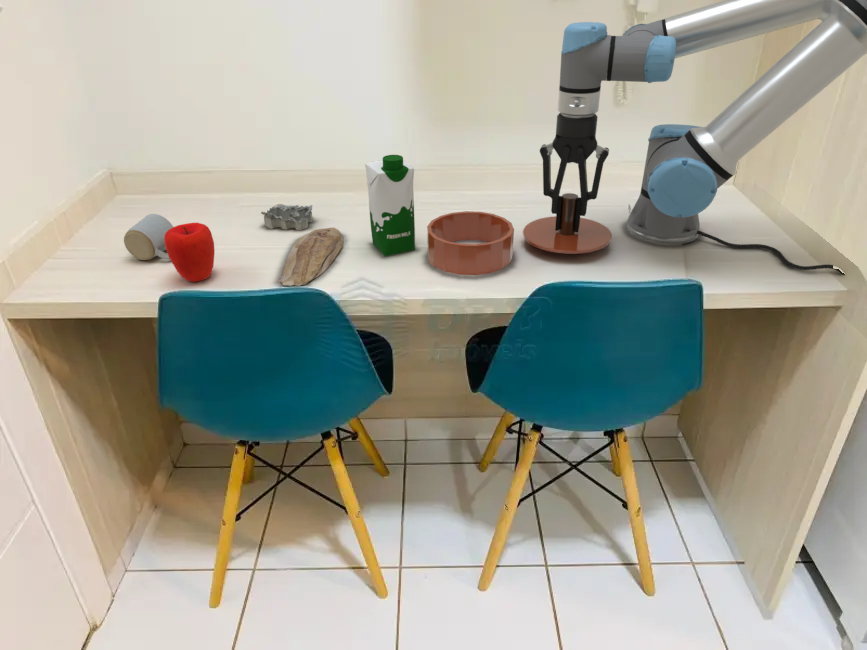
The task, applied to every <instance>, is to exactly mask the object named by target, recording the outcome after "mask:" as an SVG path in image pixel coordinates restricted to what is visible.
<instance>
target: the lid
mask: <svg viewBox="0 0 867 650" xmlns="http://www.w3.org/2000/svg"><path fill="white" fill-rule="evenodd" d="M561 196H562V204H561V216H560V228H559V231H557V230H555V226H556V215H555V216H554V215H553V216H546V217H541V218H538V219H535V220H532V221H531V222H529V223H527V224H526V225H525V226H524V228H523V230H522V236H523V238H524V240H525V241H526V242H527V243H528V244H529V245H531V246H533V247H534V248H538V249H540V250H541V251H542V250H543V251H546V252H550V253H555V254H564V255H565V254H566V255H568V254H569V255H577V254H587V253H593V252H596V251H599V250H601V249H605V247H607V246H608V245H609V244H610V243H611V241H612V235H613V234H612V231H611V230H610V229H609V228H608V227H607V226H605V225H604V224H602V223H600V222H598V221H596V220H593V219H588V218H586V217H585V218H584V217H580V224H579V230H578V232H574V229H575V219H576V208H577V201H578V197H579V195H578V194H576V193H572V192H568V193H563V194H562V195H561Z"/></svg>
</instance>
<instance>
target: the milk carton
mask: <svg viewBox="0 0 867 650" xmlns="http://www.w3.org/2000/svg"><path fill="white" fill-rule="evenodd" d="M364 164H365V172H366V173H365V174H366V181H367V182H366V183H367V192H368V193H367V194H368V195H367V196H368V209H369V221H370V232H371V233H370V234H371V240H372V245H373V246H374V247H375V248H376V249H377V250H378V251H379V252H380V253H381V255H382V256H384V257H389V256H395V255H399V254H403V253H404V254H405V253H408V252H413V251H416V228H415V227H416V226H415V223H416V221H415V197H414V196H415V195H414V178H415V176H414V175H415V168H414V166H412V165H411V164H409V163H408V162H407V161H406V160H404V157H403V156H402V155H399V154H387V155H384V156H383V157H382V159H381V160H376V161H369V162H364Z"/></svg>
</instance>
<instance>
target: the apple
mask: <svg viewBox="0 0 867 650" xmlns="http://www.w3.org/2000/svg"><path fill="white" fill-rule="evenodd" d="M165 247H166V250H165V251H166V253H168V256H169V258H170V259H169V260H170V261H171V263H172V265H173V267H174V268H175V270H176V272H177V273H178V274H179V275H180V276H181V278H183V279H185V280H186V281H188V282H193V283H196V282H202V281H204V280H206V279H208V278H209V277H210V276H211V275H212V274H213V273H212V272H213V268H214V264H215V263H214V262H215V242H214V238H213V234H212V231H211V229H210V228H209V227H208V226H207V225H206V224H204V223H201V222H188V223H182V224H178V225H175V226H173V228H171V229H169V230H168V231H167V232H166V234H165Z"/></svg>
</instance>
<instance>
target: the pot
mask: <svg viewBox="0 0 867 650" xmlns="http://www.w3.org/2000/svg"><path fill="white" fill-rule="evenodd" d="M426 232H427V233H426V234H427V235H426V237H427V238H426V239H427V261H428V263H429V265H430V266H431V267H434V268H437V269H438V270H441V271H442V272H446V273H449V274H455V275H460V276H461V275H462V276H479V275H488V274H492V273H495V272H499V271H501V270H503V269H505V268H506V267H508V265H510V264H511V261H512V260H513V254H514V239H515V238H514V236H515V228H514V226H513V223H512V222H511V221H510V220H508V219H507V218H505V217H503V216H500V215H498V214H495V213H490V212H484V211H474V210H473V211H470V210H469V211H468V210H464V211H457V212H450V213H445V214H443V215H440V216H437V217H436V218H434V219H432V220H431V221H430V222H429V223H428V225H427V226H426ZM459 241H482V243H459Z"/></svg>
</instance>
